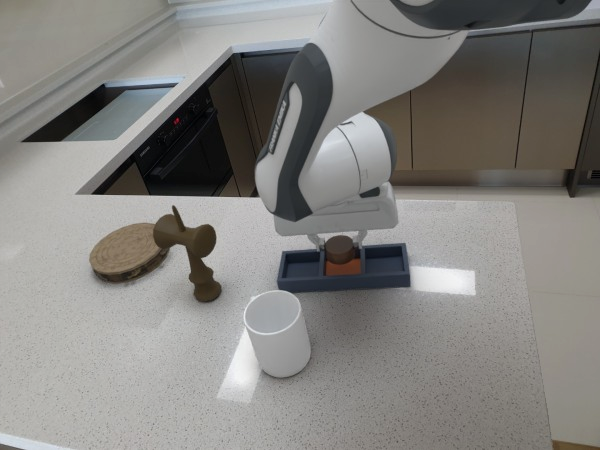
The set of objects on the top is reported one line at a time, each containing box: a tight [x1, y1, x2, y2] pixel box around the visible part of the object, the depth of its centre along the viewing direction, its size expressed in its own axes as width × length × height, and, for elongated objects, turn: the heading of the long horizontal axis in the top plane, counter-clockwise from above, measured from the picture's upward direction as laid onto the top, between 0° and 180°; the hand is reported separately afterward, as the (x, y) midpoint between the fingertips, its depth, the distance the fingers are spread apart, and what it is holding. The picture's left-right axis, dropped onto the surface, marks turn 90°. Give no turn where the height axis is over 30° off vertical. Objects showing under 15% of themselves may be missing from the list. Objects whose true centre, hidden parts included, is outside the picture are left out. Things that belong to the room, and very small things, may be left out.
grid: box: [276, 242, 411, 294], centre depth 82 cm, size 8×23×3 cm, turn 85°
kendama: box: [153, 204, 222, 302], centre depth 79 cm, size 6×10×20 cm, turn 61°
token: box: [325, 234, 355, 265], centre depth 80 cm, size 5×5×2 cm
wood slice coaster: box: [88, 222, 170, 284], centre depth 97 cm, size 16×16×3 cm
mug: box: [242, 289, 312, 378], centre depth 69 cm, size 12×8×10 cm
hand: (339, 248), depth 79 cm, fingers closed on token, 5 cm apart
